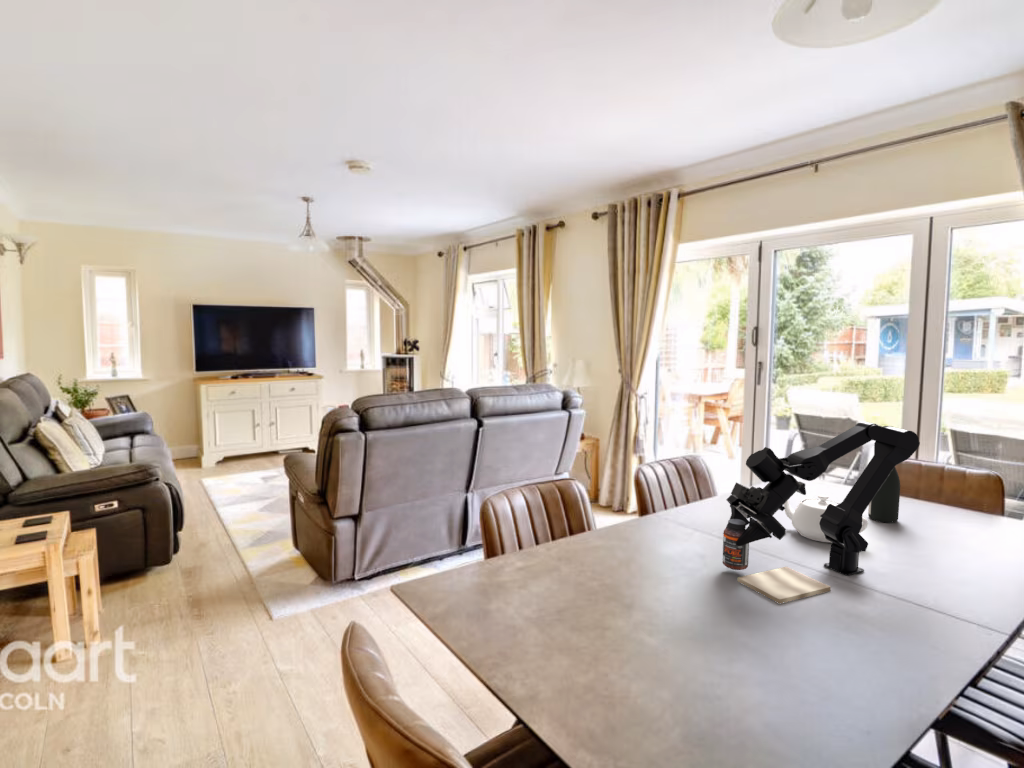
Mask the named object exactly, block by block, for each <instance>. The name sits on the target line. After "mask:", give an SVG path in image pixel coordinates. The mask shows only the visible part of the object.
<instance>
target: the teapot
mask: <svg viewBox="0 0 1024 768" xmlns="http://www.w3.org/2000/svg"><path fill="white" fill-rule="evenodd" d="M817 497H818V498H804V499H801V500H800V501H799V503H798V505H797V506H796V508H795V509H794V508H793V507H792V506H791V504H790V501H789V499H788V500H787V501H786V502H785V503H784V504H783V506H784V507H785V509H784V512H785V515H786V517H787V518H788V519H789V520H790V521H791V524H792V527H793V528H794V529H795V531H797V532H798V533H799V534H800V535H801V536H802V537H804V538H807V539H809V540H813V541H816V542H820V543H821V542H822V543H832V542H831V541H829V540H827V539H826V538H825V535H824V533H823V532H822V530H821V528H820V524H819V523H820V520H821V518H822V517H820V515H822V514H823V513H824V512H825V510H826V508H827V506H828V505H829V504H832V505H834V506H836V505H838V504H840V503H841V502H840V503H839V502H837V501H832V500H828V499H829V498H830V497H829V495H826V494H818V495H817ZM868 525H869V522H868V519H867V518H865V517H864V516H862V528H861V530H860V532H859V534H861V533H863V532H864V531H865V530H866V529H867V528H868Z"/></svg>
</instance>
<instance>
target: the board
mask: <svg viewBox="0 0 1024 768" xmlns="http://www.w3.org/2000/svg"><path fill="white" fill-rule="evenodd" d="M737 582H738V583H739V582H740V584H741V583H742V585H743V584H744V585H743V586H745V585H746V586H745V587H747V586H748V587H747V588H749V587H750V588H749V589H751V590H752V589H753V590H752V591H754V590H755V592H756V591H757V592H756V593H758V592H759V593H758V594H760V593H761V594H760V595H762V594H763V595H762V596H764V595H765V596H766V597H765V596H764V597H765V598H767V597H768V599H769V598H770V600H771V599H772V600H771V601H773V600H774V601H773V602H775V601H776V602H775V603H777V602H778V603H779V604H778V603H777V604H778V605H781V604H784V603H783V602H785V603H788V601H789V602H793V601H797V600H800V598H801V599H803V598H804V597H805V598H808V596H809V597H813V596H816V594H817V595H821V594H824V593H827V592H831V588H832V587H831V585H829V584H825V583H824V582H821V581H819V580H817V579H815V578H812V577H810V576H808V575H806V574H804V573H802V572H799V571H797V570H795V569H793V568H790V567H789V566H782V567H779V568H778V567H777V568H774V569H770V570H765V571H761V572H756V573H751V574H746V575H743V576H738V577H737ZM805 598H804V599H805ZM796 599H797V600H796ZM792 600H793V601H792ZM780 603H781V604H780Z"/></svg>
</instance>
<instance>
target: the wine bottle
mask: <svg viewBox="0 0 1024 768" xmlns="http://www.w3.org/2000/svg"><path fill="white" fill-rule="evenodd" d="M882 427H884V428H886V427H893V426H892V425H884V426H882ZM900 496H901V481H900V476H899V473H898V470H897V468H896V466H895V467H894V468H893V470H892V471H891V473H890V474H889V476H888V477H887V479H886V480H885V482H884V483H883V485H882V486H881V488H880V489H879V490H878V492H877V493H876V495H875V496H874V498H873V499H872V501H871V502H870V504H869V505H868V512H867V514H868V517H869V518H870V519H872V520H873V521H876V522H879V521H880V523H889V524H890V523H891V524H892V523H896V522H897V521H898V520H899V513H900V512H899V511H900V499H901V497H900Z"/></svg>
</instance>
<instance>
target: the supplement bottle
mask: <svg viewBox="0 0 1024 768" xmlns="http://www.w3.org/2000/svg"><path fill="white" fill-rule="evenodd" d="M727 524H728V527H727V528H726V527H725V528H724V530H723V533H724V534H722V535H723V536H722V537H723V539H722V541H723V542H722V559H721V560H722V564H723V566H725V567H726V568H727V569H730V570H735V571H741V570H742V571H743V570H746V569H747V568H749V555H750V554H749V552H750V543H748V544H745V545H742V546H737V545H736V541H737V540H738V538H739V537H740V536H741V535H742V533H743V532H744V531H745V530H746V529H747V527H746V526H747V525H746V523H745V522H744V521H742V520H739V519H730V518H729V520H728V521H727Z"/></svg>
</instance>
